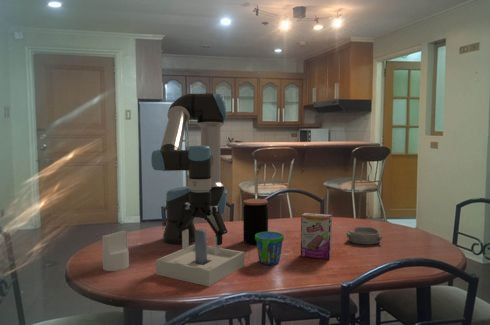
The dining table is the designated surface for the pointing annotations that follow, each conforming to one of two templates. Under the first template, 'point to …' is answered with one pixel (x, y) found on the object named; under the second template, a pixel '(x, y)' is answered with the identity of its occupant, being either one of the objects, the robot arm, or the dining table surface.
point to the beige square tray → (208, 274)
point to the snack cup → (269, 247)
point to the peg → (201, 246)
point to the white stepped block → (115, 251)
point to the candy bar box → (316, 235)
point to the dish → (364, 235)
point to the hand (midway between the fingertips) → (201, 251)
